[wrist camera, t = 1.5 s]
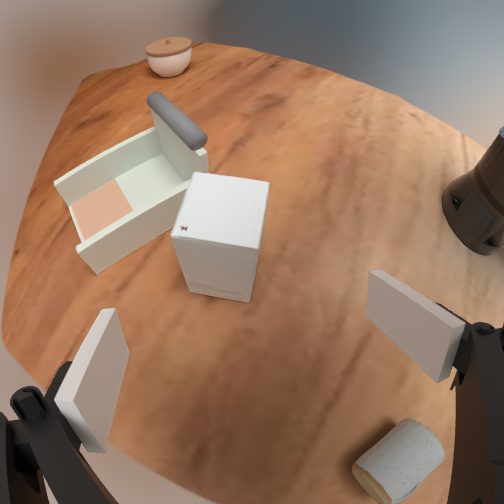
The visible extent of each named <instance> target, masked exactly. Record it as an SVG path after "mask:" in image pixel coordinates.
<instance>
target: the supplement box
mask: <svg viewBox="0 0 504 504" xmlns="http://www.w3.org/2000/svg"><path fill="white" fill-rule="evenodd" d="M268 193H269V182H264V181H258V180H252V179H245V178H239V177H232V176H223V175H216V174H210V173H202V172H194V173H193V174H192V177H191V180H190V182H189V185H188V188H187V190H186V193H185V196H184V198H183V201H182V203H181V206H180V209H179V212H178V215H177V218H176V221H175V223H174V226H173V229H172V232H171V234H170V237H171V240H172V243H173V246H174V249H175V252H176V255H177V258H178V261H179V264H180V267H181V270H182V272H183V275H184V278H185V281H186V284H187V286H188V289H189V292H193V293H198V294H203V295H208V296H213V297H219V298H224V299H230V300H235V301H241V302H247V303H249V302H250V299H251V294H252V289H253V284H254V279H255V274H256V268H257V263H258V258H259V253H260V247H261V241H262V235H263V229H264V223H265V216H266V209H267V202H268Z"/></svg>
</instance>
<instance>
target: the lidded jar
mask: <svg viewBox="0 0 504 504" xmlns="http://www.w3.org/2000/svg"><path fill="white" fill-rule="evenodd" d="M145 52H146V54H147V60H148V63H149V66H150V67H151V69H152V70H153V71H154V72H156V73H157V74H159V75H160V76H162V77H172V76H176V75H179V74H181V73H182V72H183V71H184V69H185V68H186V67H187V66H188V64H189V62H190V60H191V55H192V41H191V40H190V39H188V38H184V37H172V38H165V39H161V40H158V41H155V42H153V43H151V44H149V45H148V46H147V47H146V49H145Z"/></svg>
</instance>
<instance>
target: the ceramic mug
mask: <svg viewBox="0 0 504 504" xmlns="http://www.w3.org/2000/svg"><path fill="white" fill-rule="evenodd" d="M444 458H445V451H444V449H443V446H442V444H441V442H440V441H439V440H438V438H437V437H436V436H435V435H434V433H433V432H432V431H431V430H430V429H428V428H427V427H426V426H424V425H422V424H421V423H419V422H417V421H415V420H411V419H404V420H402V421H400V422H399V423H398V424H397V425H396V426H395V427H394V428H393V429H392V430H391V431H390V432H389V433H388V434H386V435H385V436H384V437H383V438H382V439H381V440H380V441H379V442H378V443H376V444H375V445H374V446H373V447H372V448H370V449H369V450H368V451H366V452H365V453H364V454H363V455H362V456H361V457H359V459H358V460H357V461H356V462H355V463H354V464H353V466H352V473H353V475H354V477H355V479H356V480H357V481H358V483H359V484H360V485H361V486H362V488H363V489H364V490H365V491H366V492H367V493H368V494H369V495H370V496H371V497H372V498H373V499H374V500H375V501H376V502H378V503H380V504H396V503H399V502H401V501H403V500H404V499H406V498H407V497H409V496H410V495H411V494H412V493H413V492H414V491H415V490H416V489H417V488H418V487H419V485H420V484H421V483H422V481H423V479H424V478H426V477H427V476H428V475H429V474H430V473H431V472H432V471H433V470H434V469H435V468H437V467H438V466H439V465H440V464H441V463H442V461H443V460H444Z"/></svg>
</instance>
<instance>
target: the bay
mask: <svg viewBox="0 0 504 504" xmlns="http://www.w3.org/2000/svg"><path fill="white" fill-rule="evenodd" d="M147 104H148V106H149V107H150V108H151V112H152V117H153V121H154V127H152V128H150V129H148V130H145V131H143V132H141V133H139V134H137V135H135V136H133V137H131V138H129V139H127V140H125V141H123V142H121V143H119V144H117V145H115V146H114V147H112V148H110V149H108V150H106V151H104V152H102V153H101V154H99V155H97V156H95V157H94V158H92V159H90V160H88V161H87V162H85V163H83V164H82V165H80V166H78V167H77V168H75V169H73V170H72V171H70V172H68V173H67V174H65V175H64V176H62V177H60V178H59V179H57V180H56V181H54V185H55V187H56V189H57V190H58V192H59V193H60V195H61V196H62V198H63V199H64V201H65V203H66V204H67V206H68V207H69V210H70V213H71V216H72V218H73V221H74V224H75V226H76V229H77V232H78V234H79V237H80V239H81V242H82V243H81V244H79V245H78V246H76V250H77V253H78V254H79V255H80V256H81V258H82V259H83V260H84V261H85V262H86V263H87V264H88V265H89V267H90V268H91V269H92V270H93V271H94V272H95V273H96V274H99V273H101V272H102V271H104V270H105V269H107V268H108V267H110V266H111V265H113V264H114V263H116V262H118V261H119V260H121V259H122V258H124V257H125V256H127V255H129V254H130V253H132V252H133V251H135V250H137V249H138V248H140V247H142V246H143V245H145V244H146V243H148V242H150V241H151V240H153V239H155V238H156V237H158V236H160V235H161V234H163V233H165V232H166V231H168V230H170V229H171V228H173V226H174V223H175V221H176V218H177V215H178V212H179V209H180V206H181V203H182V201H183V198H184V196H185V193H186V190H187V188H188V185H189V182H190V180H191V177H192V174H193V173H194V172H202V173H209V167H208V154H207V152H206V151H205V149H204V148H203V146H204V145H205V144H206V142H207V135H206V133H204V132H203V131H202V130H201V129H200V128H199V127H198V126H197V125H196V124H195V123H194V122H193V121H191V120H190V119H189V118H188V117H187V116H186V115H185V114H184V113H183V112H182V111H180V110H179V109H178V108H177V107H176V106H175V105H174V104H173V103H172V102H170V101H169V100H168V99H167V98H166V97H165V96H164V95H163V94H161V93H160V92H153V93H152V94H150V95H149V96H148V98H147Z"/></svg>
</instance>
